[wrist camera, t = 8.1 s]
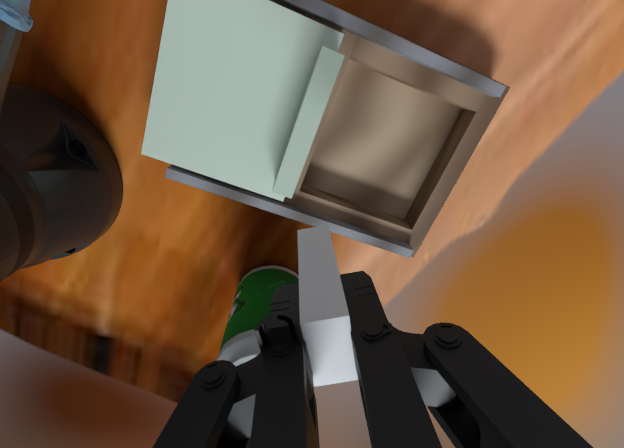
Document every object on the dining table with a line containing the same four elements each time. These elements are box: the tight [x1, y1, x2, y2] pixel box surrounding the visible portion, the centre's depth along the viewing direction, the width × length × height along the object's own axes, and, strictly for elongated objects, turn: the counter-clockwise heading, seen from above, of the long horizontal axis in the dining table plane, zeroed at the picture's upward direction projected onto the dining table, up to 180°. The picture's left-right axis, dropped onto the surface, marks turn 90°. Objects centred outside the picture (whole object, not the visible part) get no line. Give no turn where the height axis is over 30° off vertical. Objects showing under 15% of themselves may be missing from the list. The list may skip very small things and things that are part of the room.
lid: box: [141, 0, 345, 202], centre depth 23 cm, size 12×13×4 cm
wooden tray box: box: [165, 0, 510, 258], centre depth 27 cm, size 23×16×4 cm
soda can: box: [217, 265, 299, 367], centre depth 30 cm, size 8×8×12 cm
